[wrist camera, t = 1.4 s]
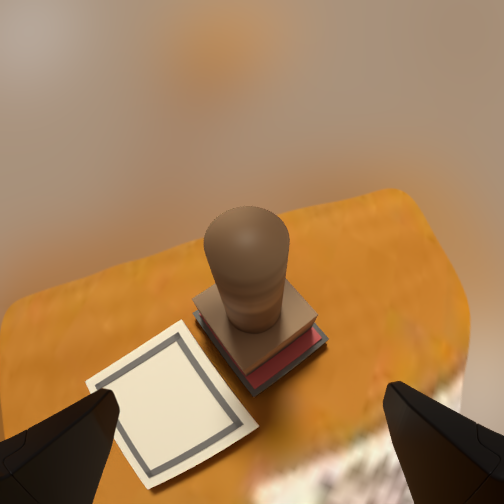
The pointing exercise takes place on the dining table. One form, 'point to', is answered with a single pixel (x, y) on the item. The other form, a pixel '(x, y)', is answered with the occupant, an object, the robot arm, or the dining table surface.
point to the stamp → (251, 287)
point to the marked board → (171, 406)
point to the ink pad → (274, 366)
